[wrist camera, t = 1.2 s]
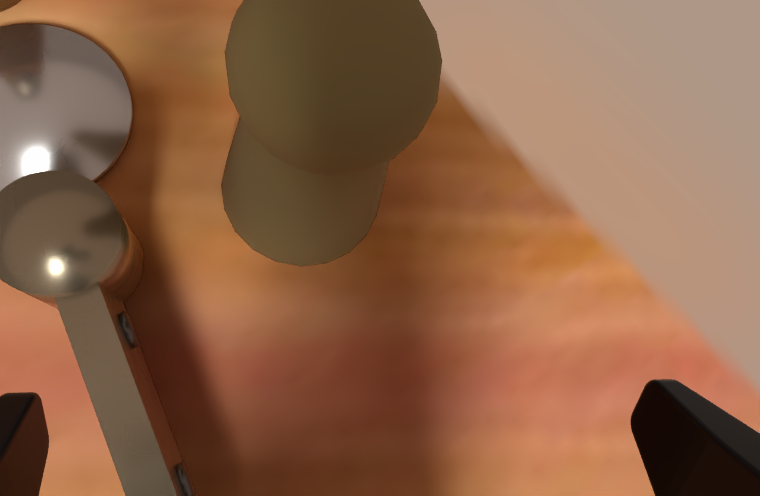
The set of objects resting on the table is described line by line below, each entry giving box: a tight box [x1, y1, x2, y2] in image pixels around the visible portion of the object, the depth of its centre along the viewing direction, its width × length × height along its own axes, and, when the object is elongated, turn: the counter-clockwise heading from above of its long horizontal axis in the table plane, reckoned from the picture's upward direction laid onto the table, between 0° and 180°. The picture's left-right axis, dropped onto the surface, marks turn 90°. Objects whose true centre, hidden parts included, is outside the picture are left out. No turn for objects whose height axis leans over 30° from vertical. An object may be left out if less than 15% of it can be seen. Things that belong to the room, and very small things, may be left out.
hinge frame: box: [0, 0, 196, 496], centre depth 21 cm, size 34×7×4 cm, turn 24°
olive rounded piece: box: [221, 0, 442, 266], centre depth 19 cm, size 6×6×11 cm
